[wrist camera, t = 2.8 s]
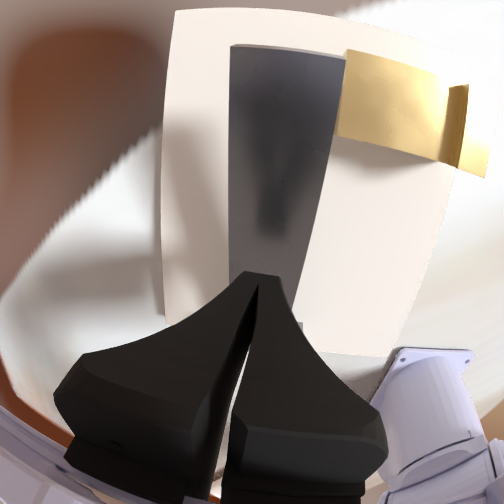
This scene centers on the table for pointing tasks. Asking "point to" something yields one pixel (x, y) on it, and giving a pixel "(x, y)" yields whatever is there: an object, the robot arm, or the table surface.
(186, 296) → the board
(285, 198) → the dark grey flat bar
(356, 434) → the robot arm
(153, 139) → the table surface
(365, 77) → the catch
